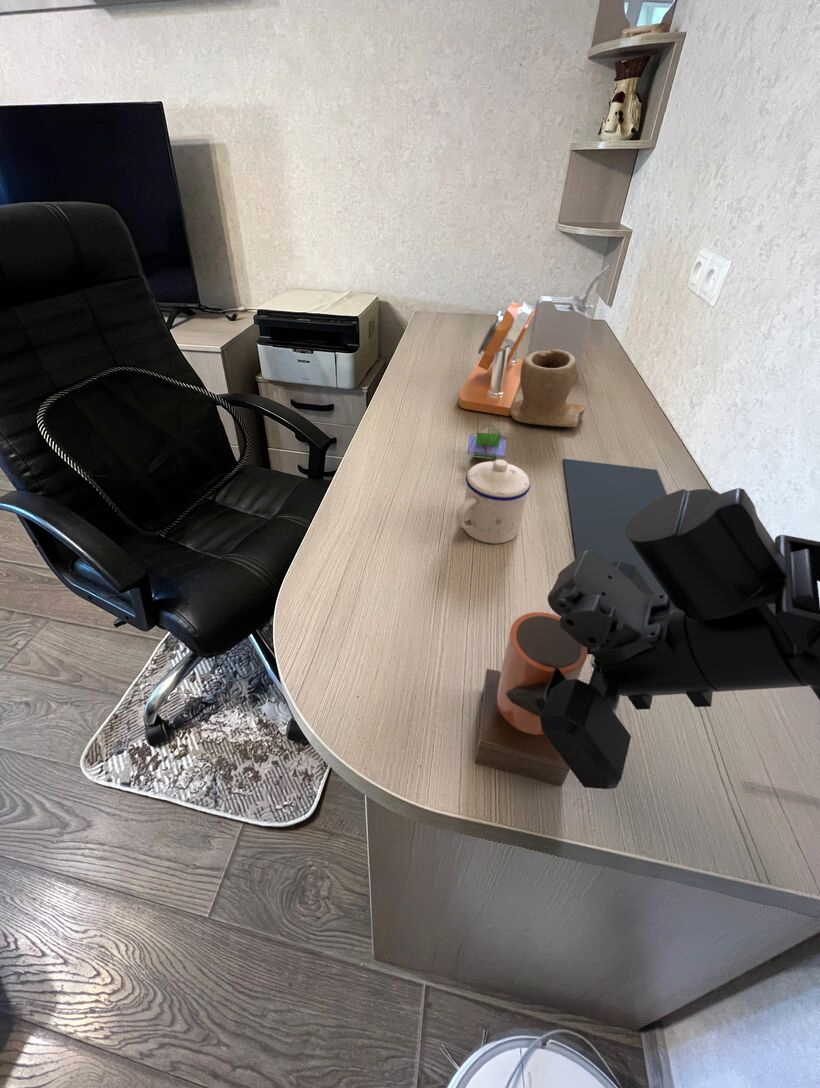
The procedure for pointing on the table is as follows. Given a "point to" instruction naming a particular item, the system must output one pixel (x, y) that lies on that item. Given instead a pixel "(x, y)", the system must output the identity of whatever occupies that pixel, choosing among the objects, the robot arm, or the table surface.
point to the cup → (535, 663)
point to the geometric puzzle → (487, 443)
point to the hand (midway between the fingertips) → (522, 669)
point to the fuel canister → (562, 323)
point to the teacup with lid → (493, 501)
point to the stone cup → (547, 390)
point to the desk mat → (609, 509)
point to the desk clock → (498, 364)
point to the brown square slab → (514, 743)
